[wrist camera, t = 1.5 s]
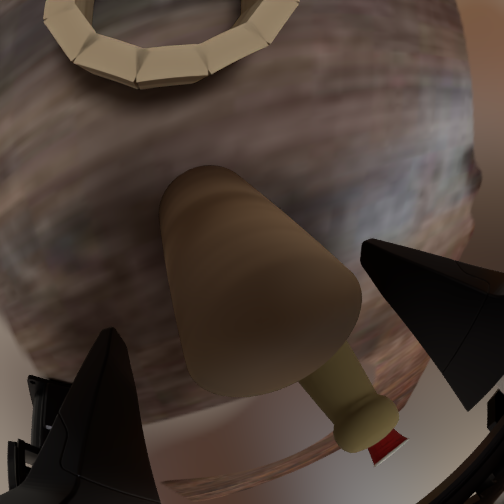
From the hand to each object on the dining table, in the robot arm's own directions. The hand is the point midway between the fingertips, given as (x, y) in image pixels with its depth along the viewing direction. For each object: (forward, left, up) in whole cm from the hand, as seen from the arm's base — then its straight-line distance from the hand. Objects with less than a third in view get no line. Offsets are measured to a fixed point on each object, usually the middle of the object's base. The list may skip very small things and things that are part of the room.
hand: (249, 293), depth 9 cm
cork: (-8, -14, -7) cm, 17 cm away
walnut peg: (0, 0, -7) cm, 7 cm away
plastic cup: (-34, -58, -7) cm, 68 cm away
